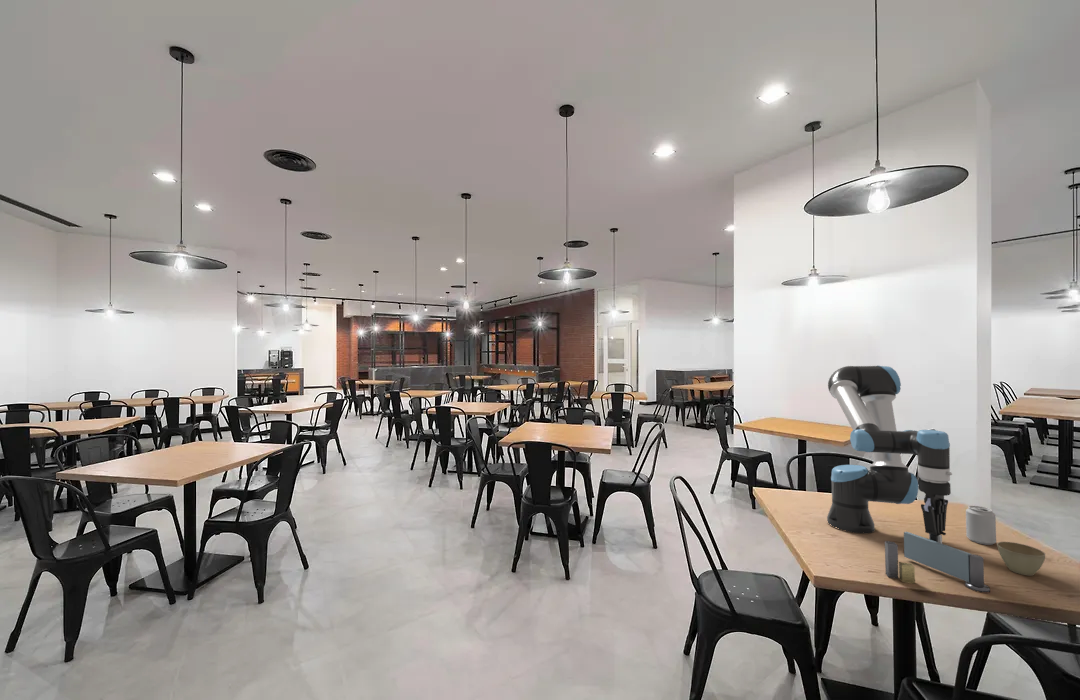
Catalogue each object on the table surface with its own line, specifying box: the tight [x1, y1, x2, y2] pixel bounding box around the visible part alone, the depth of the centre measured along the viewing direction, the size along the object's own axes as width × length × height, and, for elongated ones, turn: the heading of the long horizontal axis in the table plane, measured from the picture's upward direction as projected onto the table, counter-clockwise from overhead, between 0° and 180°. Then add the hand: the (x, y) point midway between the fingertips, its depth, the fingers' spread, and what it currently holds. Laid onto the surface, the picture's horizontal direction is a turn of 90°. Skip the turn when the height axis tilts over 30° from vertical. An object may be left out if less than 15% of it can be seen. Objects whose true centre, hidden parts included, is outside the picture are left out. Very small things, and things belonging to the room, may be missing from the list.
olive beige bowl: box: [996, 541, 1046, 577], centre depth 133 cm, size 10×10×7 cm
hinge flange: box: [964, 581, 991, 593], centre depth 124 cm, size 5×5×1 cm
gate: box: [903, 531, 985, 587], centre depth 132 cm, size 20×3×8 cm, turn 17°
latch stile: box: [884, 540, 916, 584], centre depth 129 cm, size 6×4×10 cm
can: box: [965, 505, 997, 546], centre depth 155 cm, size 8×8×12 cm
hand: (936, 554), depth 136 cm, fingers closed
